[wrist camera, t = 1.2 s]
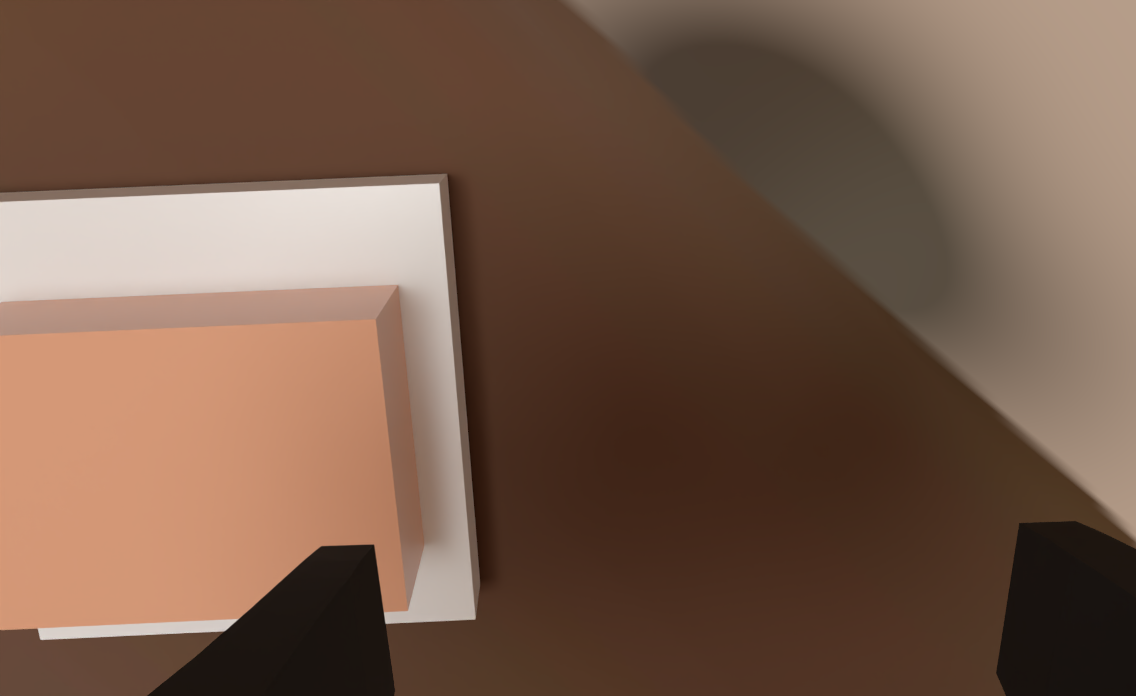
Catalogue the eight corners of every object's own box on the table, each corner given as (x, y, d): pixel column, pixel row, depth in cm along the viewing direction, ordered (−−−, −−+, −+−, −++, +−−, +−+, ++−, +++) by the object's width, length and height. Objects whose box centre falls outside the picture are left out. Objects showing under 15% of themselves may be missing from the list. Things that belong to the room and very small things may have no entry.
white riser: (480, 582, 22) (475, 619, 21) (73, 601, 22) (40, 639, 21) (447, 173, 19) (438, 183, 18) (-27, 193, 19) (-74, 204, 17)
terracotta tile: (424, 545, 20) (407, 611, 18) (65, 561, 20) (0, 629, 18) (398, 284, 18) (375, 319, 16) (2, 301, 18) (-81, 338, 16)
